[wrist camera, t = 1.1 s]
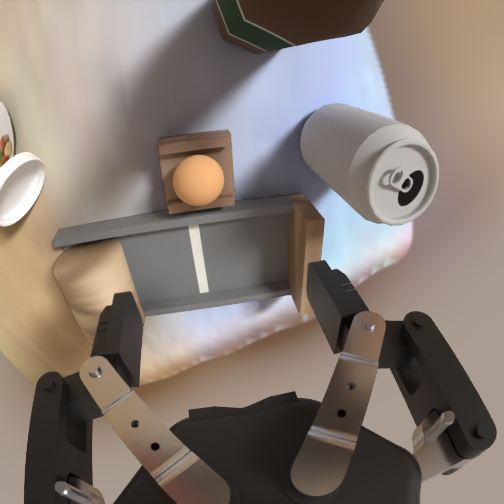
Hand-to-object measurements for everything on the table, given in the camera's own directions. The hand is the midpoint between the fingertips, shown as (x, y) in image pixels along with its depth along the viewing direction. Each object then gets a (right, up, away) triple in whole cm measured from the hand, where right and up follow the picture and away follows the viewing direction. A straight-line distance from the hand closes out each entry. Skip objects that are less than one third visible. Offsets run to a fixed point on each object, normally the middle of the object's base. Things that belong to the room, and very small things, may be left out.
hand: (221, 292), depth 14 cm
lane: (-6, +1, +18) cm, 19 cm away
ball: (-3, +7, +10) cm, 12 cm away
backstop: (+6, +3, +20) cm, 21 cm away
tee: (-4, +9, +13) cm, 17 cm away
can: (+9, +13, +14) cm, 21 cm away
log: (-14, 0, +17) cm, 22 cm away
